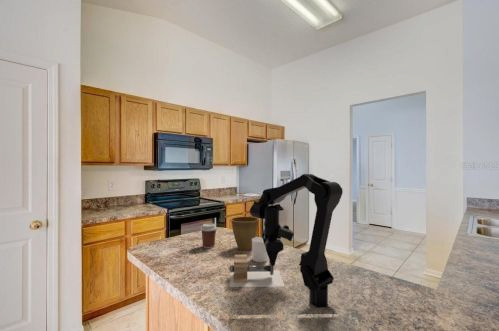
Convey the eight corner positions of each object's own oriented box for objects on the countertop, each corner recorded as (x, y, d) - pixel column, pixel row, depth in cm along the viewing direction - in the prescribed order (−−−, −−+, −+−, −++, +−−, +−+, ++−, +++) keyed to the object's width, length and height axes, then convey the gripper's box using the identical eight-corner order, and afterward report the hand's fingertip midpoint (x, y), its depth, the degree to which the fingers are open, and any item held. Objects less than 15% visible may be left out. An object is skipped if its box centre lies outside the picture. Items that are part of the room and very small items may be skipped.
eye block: (247, 282, 88) (247, 262, 88) (233, 282, 87) (234, 262, 88) (246, 273, 96) (247, 254, 96) (234, 273, 95) (234, 254, 96)
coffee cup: (198, 245, 133) (198, 224, 133) (213, 243, 137) (213, 222, 137) (203, 250, 125) (203, 227, 125) (219, 247, 129) (219, 225, 129)
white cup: (248, 262, 109) (248, 240, 109) (256, 256, 116) (256, 236, 116) (264, 265, 105) (264, 243, 106) (270, 259, 112) (271, 238, 113)
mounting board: (284, 288, 85) (284, 286, 85) (229, 289, 84) (229, 286, 84) (278, 271, 99) (278, 269, 99) (231, 272, 98) (231, 270, 98)
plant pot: (259, 244, 135) (259, 216, 135) (256, 253, 120) (256, 222, 120) (234, 243, 137) (234, 215, 137) (228, 252, 122) (228, 221, 123)
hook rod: (274, 277, 90) (274, 254, 90) (228, 277, 89) (228, 254, 89) (272, 271, 94) (273, 250, 94) (229, 272, 94) (229, 250, 94)
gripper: (297, 226, 83) (297, 271, 83) (287, 216, 102) (287, 252, 102) (266, 226, 83) (266, 271, 83) (261, 216, 101) (261, 252, 101)
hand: (271, 261), depth 92 cm, fingers open, 9 cm apart
